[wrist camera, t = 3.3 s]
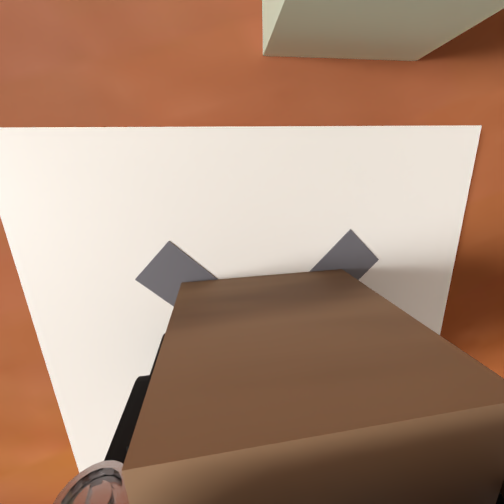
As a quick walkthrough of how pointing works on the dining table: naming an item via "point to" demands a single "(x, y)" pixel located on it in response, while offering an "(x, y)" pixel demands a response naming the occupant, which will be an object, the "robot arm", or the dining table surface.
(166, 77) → the dining table surface
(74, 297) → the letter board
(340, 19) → the sage green cube
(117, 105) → the dining table surface
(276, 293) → the walnut block
